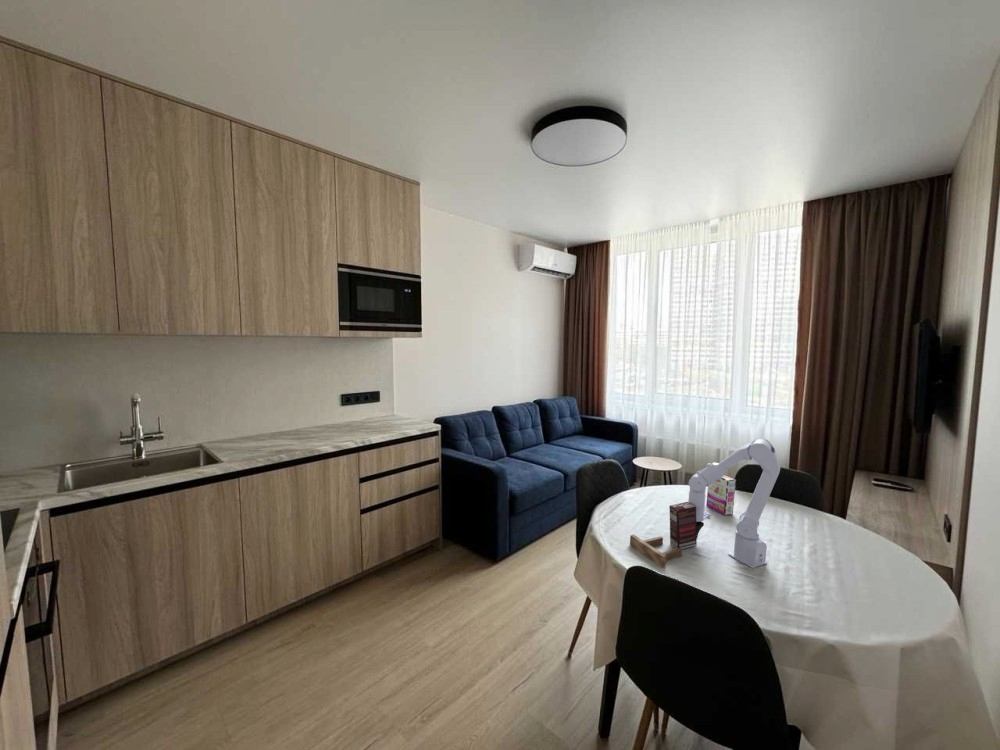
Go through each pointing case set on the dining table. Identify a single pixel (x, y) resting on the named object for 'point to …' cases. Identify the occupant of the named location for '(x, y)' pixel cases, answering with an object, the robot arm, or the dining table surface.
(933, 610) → the dining table surface
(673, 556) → the end holder
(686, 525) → the supplement box
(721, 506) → the candy bar box
